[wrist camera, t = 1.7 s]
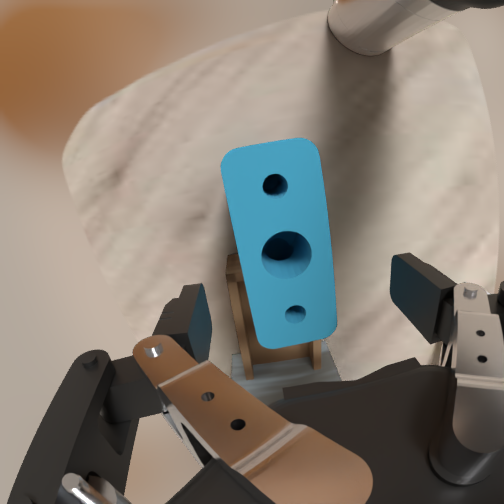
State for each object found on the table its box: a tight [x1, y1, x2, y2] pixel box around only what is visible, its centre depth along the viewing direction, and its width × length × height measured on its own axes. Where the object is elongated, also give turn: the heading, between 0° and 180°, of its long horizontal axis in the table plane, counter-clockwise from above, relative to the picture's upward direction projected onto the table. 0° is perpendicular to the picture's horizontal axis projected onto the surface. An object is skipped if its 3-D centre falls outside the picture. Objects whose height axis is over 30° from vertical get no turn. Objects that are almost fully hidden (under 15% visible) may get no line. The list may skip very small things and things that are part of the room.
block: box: [221, 138, 337, 349], centre depth 25 cm, size 12×5×20 cm, turn 11°
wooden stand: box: [226, 254, 341, 406], centre depth 29 cm, size 18×14×22 cm
